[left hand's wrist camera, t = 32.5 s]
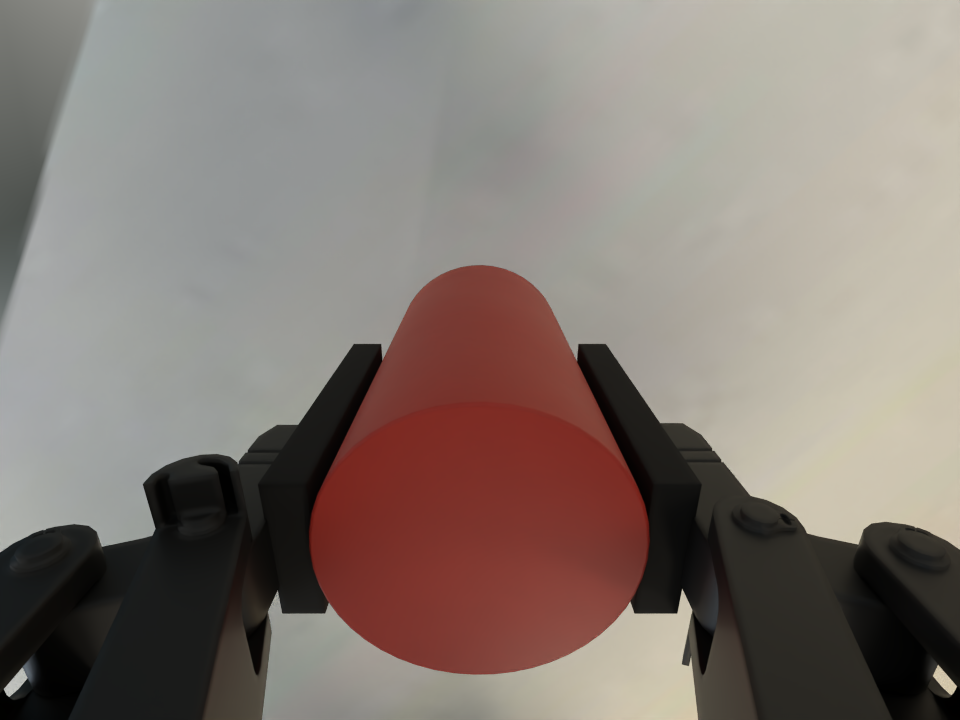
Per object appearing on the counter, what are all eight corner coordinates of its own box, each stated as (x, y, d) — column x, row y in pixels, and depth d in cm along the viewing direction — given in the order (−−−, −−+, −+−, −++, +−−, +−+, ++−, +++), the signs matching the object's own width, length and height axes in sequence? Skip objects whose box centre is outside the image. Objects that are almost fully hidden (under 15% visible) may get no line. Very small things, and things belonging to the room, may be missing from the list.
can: (587, 360, 18) (710, 587, 8) (462, 438, 19) (445, 716, 9) (499, 231, 16) (527, 329, 7) (368, 325, 17) (233, 524, 8)
